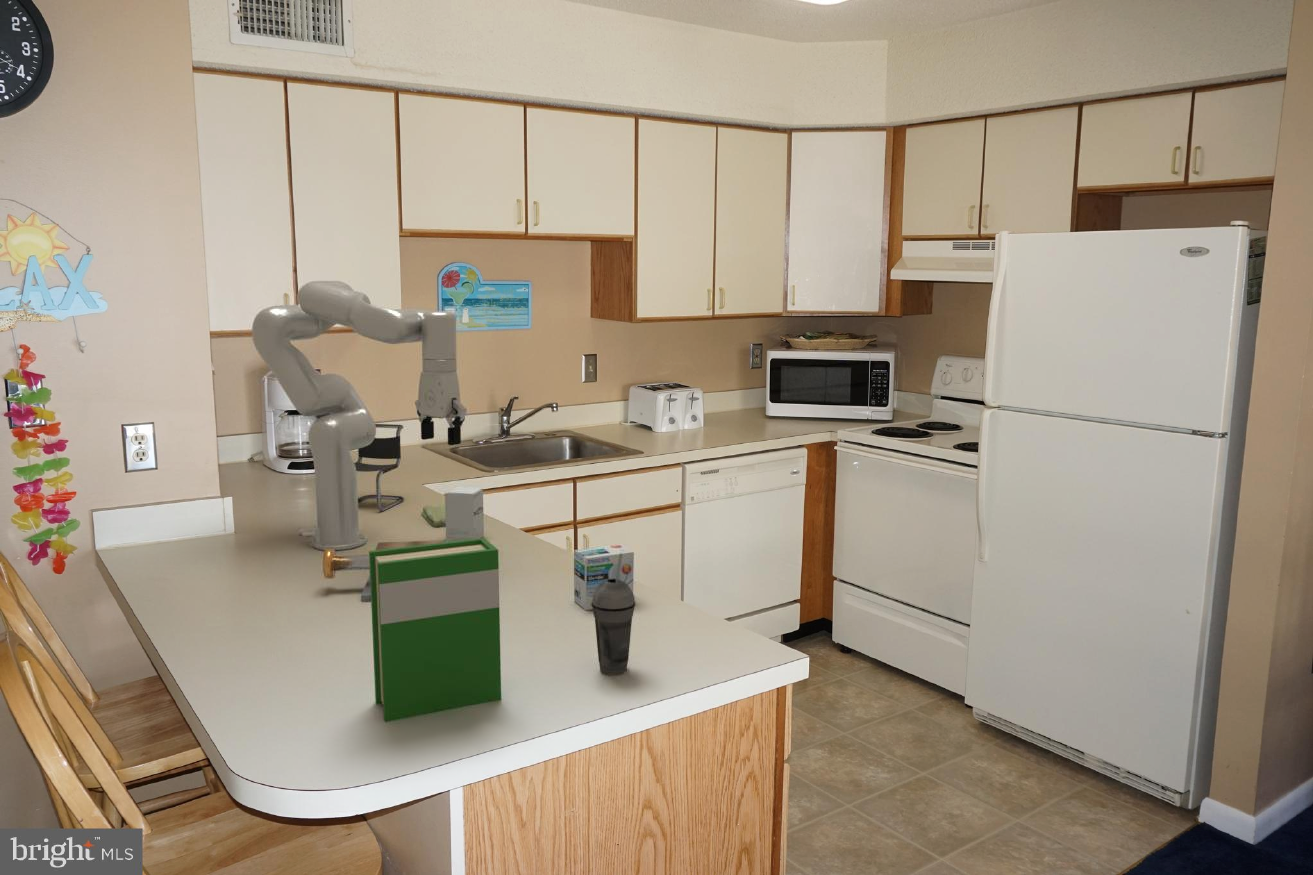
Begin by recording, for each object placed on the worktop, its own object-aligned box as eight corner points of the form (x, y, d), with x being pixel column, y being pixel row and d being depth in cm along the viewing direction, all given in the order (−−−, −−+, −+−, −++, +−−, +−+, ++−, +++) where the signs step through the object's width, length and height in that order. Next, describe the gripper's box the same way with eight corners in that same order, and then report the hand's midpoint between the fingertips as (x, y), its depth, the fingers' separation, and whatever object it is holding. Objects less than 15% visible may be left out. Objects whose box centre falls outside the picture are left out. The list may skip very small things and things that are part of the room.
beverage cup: (591, 661, 165) (590, 547, 162) (633, 660, 166) (634, 547, 162) (591, 679, 158) (591, 560, 155) (636, 678, 158) (637, 559, 155)
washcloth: (467, 510, 271) (467, 499, 271) (481, 525, 255) (480, 513, 255) (419, 514, 266) (419, 503, 266) (430, 530, 250) (430, 518, 250)
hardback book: (384, 722, 142) (378, 564, 138) (375, 702, 149) (369, 550, 145) (501, 699, 150) (498, 549, 146) (487, 681, 157) (484, 537, 153)
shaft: (323, 582, 198) (322, 553, 197) (329, 573, 203) (327, 545, 202) (424, 578, 201) (423, 550, 200) (426, 569, 207) (425, 542, 206)
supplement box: (473, 544, 236) (472, 493, 234) (445, 542, 237) (443, 492, 235) (485, 536, 243) (483, 487, 241) (457, 534, 245) (455, 485, 242)
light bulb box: (586, 611, 190) (585, 558, 188) (572, 601, 196) (572, 549, 194) (635, 603, 195) (635, 551, 193) (620, 593, 201) (620, 543, 199)
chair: (408, 499, 282) (405, 424, 279) (380, 513, 266) (377, 434, 262) (366, 497, 285) (363, 423, 281) (336, 511, 268) (332, 432, 264)
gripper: (402, 364, 220) (404, 438, 223) (450, 370, 210) (451, 448, 212) (429, 362, 226) (430, 435, 229) (477, 368, 215) (478, 444, 218)
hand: (440, 441), depth 221 cm, fingers open, 9 cm apart
